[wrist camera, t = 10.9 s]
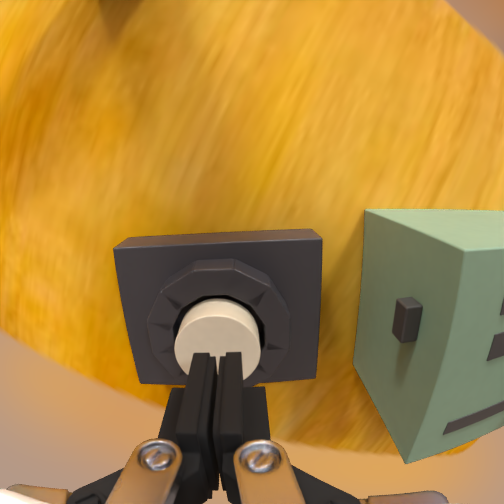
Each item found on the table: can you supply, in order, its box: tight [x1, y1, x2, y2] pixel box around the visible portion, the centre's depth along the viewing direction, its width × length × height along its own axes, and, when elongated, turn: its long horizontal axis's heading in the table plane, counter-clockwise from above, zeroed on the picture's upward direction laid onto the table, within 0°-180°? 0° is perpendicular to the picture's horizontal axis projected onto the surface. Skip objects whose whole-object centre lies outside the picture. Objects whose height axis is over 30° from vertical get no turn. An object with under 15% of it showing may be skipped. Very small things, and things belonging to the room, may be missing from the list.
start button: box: [174, 299, 261, 380], centre depth 14 cm, size 4×4×2 cm
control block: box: [113, 229, 322, 387], centre depth 16 cm, size 10×8×4 cm
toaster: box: [353, 209, 504, 464], centre depth 14 cm, size 15×10×9 cm
